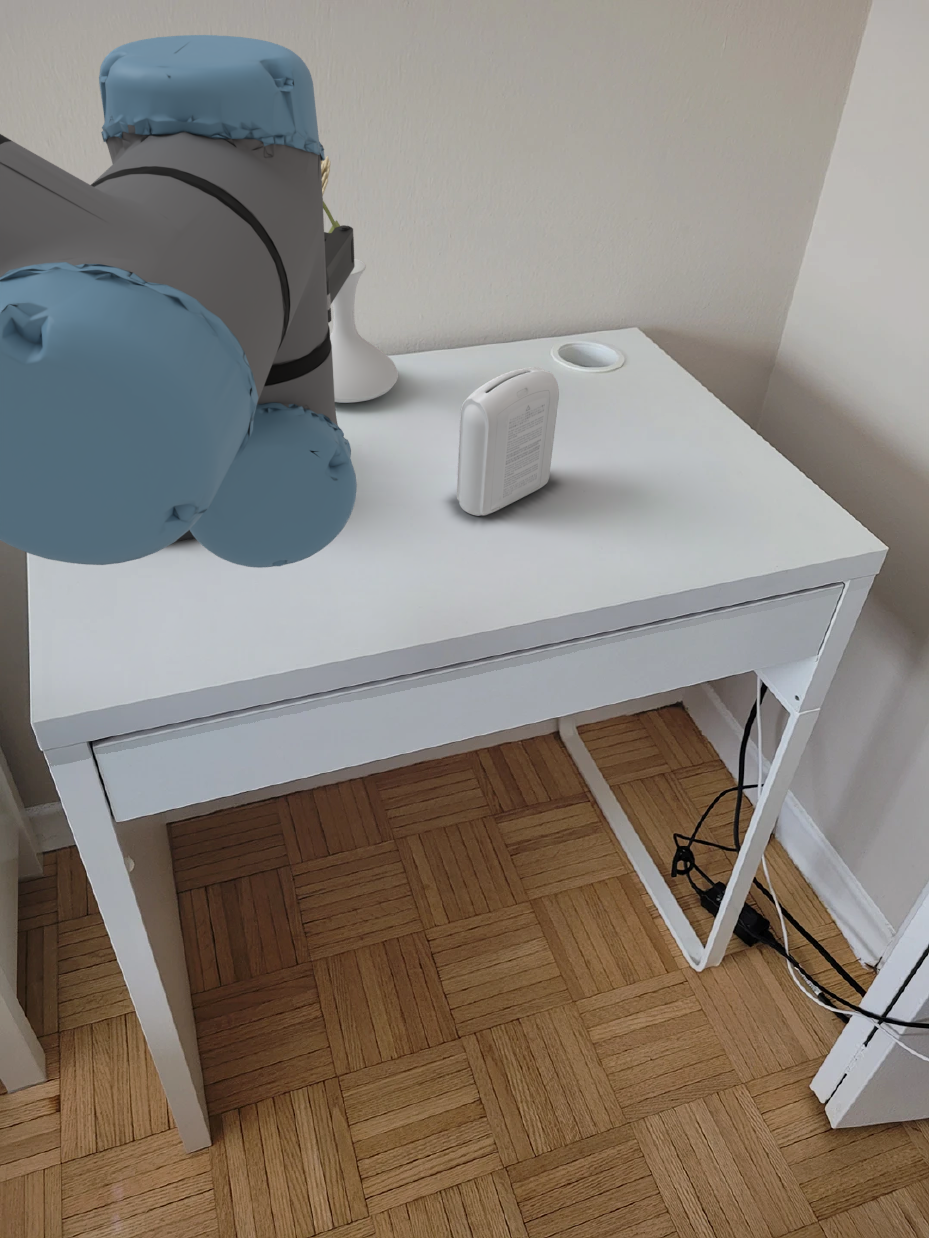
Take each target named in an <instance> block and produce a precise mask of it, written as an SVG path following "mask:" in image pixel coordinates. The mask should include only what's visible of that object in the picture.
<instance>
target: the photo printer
mask: <svg viewBox="0 0 929 1238" xmlns="http://www.w3.org/2000/svg"><path fill="white" fill-rule="evenodd" d="M559 399H560V389H559V384H558V380H557V378H556V377H555V375H554V373H553V372H551V371H547V370H545V369H544V368H543V367H535V366H534V367H533V366H532V367H523V368H517V369H513V370H511V371H508V372H505V373H502V374H500V375H498V376H496V377H494V378H492V379H490V380H489V381H487V382H485V383H484V384H482V385H481V386H479V387H478V388H476V389H475V390H474V391H473V392H471V394H470V395H468V397H466V399H465V400H464V401H463V403H462V404H461V408H460V413H459V414H460V415H459V416H460V417H459V433H458V434H459V435H458V451H457V452H458V453H457V454H458V455H457V456H458V457H457V473H456V499H457V501H458V502H459V506H460V508H461V509H462V510H463V511H464V512H465V513H468V514H470V515H473V516H477V517H479V516H487V515H490V514H492V513H494V512H495V513H496V512H497V511H499V510H501V509H503V508H504V507H507V506H509V505H510V504H513V503H514V502H516V501H518V500H521V499H522V498H524V497H526V496H528V495H530V494H533V493H534V492H536V491H538V490H540V489H541V488H543V487H545V485H546V484H548V482H549V479H550V475H551V467H552V457H553V449H554V448H553V447H554V441H555V433H556V432H555V431H556V425H557V424H556V423H557V418H558V417H557V416H558V407H559Z"/></svg>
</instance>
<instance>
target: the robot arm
mask: <svg viewBox="0 0 929 1238" xmlns="http://www.w3.org/2000/svg"><path fill="white" fill-rule="evenodd" d="M98 85H99V90H100V97H101V104H102V110H103V112H102V113H103V119H104V123H103V124H102V127H101V130H102V131H101V132H100V133H101V137H102V140H103V141H102V142H103V143H105V144H106V146H107V150H108V153H109V156H110V160H111V166H110V167H108V168H107V169H106V170H105V171H104V172H103V173H102V174H101V175H100V176H98V177H97V178H96V179H95V180H94V181H93V182H92V183H91V184H89V183H88V182H86V181H84V180H82V179H81V178H79V177H77V176H75V175H73V174H72V173H70V172H68V171H66V170H64V169H63V168H61V167H60V166H57V165H56V164H54V163H52V162H50V161H48V160H47V159H45V158H44V157H41V156H40V155H38V154H36V153H35V152H33V151H31V150H29V149H27V148H26V147H24V146H22V145H21V144H18V143H17V142H15V141H13V140H11V139H10V138H8V137H6V136H4V134H2V133H0V541H1V542H2V543H5V544H6V545H8V546H10V547H13V548H15V549H16V550H20V551H22V552H25V553H27V554H30V555H33V556H36V557H39V558H42V559H46V560H50V561H55V562H61V563H62V562H63V563H68V564H77V565H86V566H87V565H89V566H106V565H115V564H116V565H117V564H123V563H127V562H130V561H135V560H141V559H143V558H145V557H147V556H148V557H149V556H151V555H153V554H155V553H156V554H157V553H158V552H160V551H161V550H164V549H165V548H167V547H168V546H170V545H172V544H174V543H175V542H177V541H176V540H177V539H179V538H180V537H181V536H182V535H184V534H185V533H186V532H187V531H188V530H190V531H191V533H192V534H193V536H194V537H195V538H194V539H195V540H196V541H197V542H198V544H200V545H201V546H202V547H203V548H205V549H206V550H207V551H208V552H210V553H211V554H213V555H215V556H216V557H218V558H220V559H222V560H224V561H226V562H229V563H232V564H235V565H237V566H238V565H239V566H243V567H248V568H258V569H259V568H262V569H263V568H272V567H282V566H285V565H290V564H294V563H295V564H296V563H297V562H301V561H304V560H306V559H308V558H310V557H312V556H314V555H315V554H317V553H319V552H321V551H322V550H323V549H324V548H326V547H327V546H328V545H330V544H331V543H332V542H333V541H334V540H335V539H336V538H337V537H338V535H339V534H340V533H341V532H342V531H343V529H344V528H345V526H346V525H347V523H348V521H349V519H350V517H351V515H352V512H353V510H354V507H355V504H356V499H357V491H358V489H357V487H358V486H357V485H358V484H357V483H358V482H357V476H356V472H355V468H354V464H353V462H352V458H351V457H352V456H351V455H352V449H351V444H350V441H349V439H347V438H346V437H345V433H344V431H343V430H342V428H341V427H340V426H339V423H338V419H337V412H336V402H335V397H334V379H333V360H332V345H331V340H330V335H331V329H330V325H329V323H331V322H332V302H333V300H334V299H335V297H336V296H337V294H338V292H339V291H340V289H341V288H342V286H343V284H344V283H345V281H346V280H347V278H348V277H349V275H350V273H351V272H352V270H353V269H354V267H355V264H354V258H355V239H354V228H353V227H352V226H350V225H343V224H342V225H340V226H339V227H336V228H335V229H334V230H333V231H332V233H328V232H326V231H325V221H324V220H325V219H324V209H323V201H324V197H323V196H324V194H323V195H322V172H321V161H322V162H323V161H324V160H325V159H326V157H325V148H324V146H323V145H322V142H320V138H319V136H320V135H319V127H318V117H317V108H316V98H315V88H314V81H313V78H312V74H311V72H310V69H309V67H308V66H307V64H306V62H305V61H304V60H303V59H302V58H301V57H300V56H299V55H298V54H297V53H296V52H295V51H293V50H292V49H289V48H287V47H285V46H284V45H280V44H278V43H274V42H271V41H267V40H263V39H257V38H251V37H244V36H234V35H217V34H216V35H215V34H214V35H213V34H187V35H184V34H183V35H169V36H157V37H151V38H145V39H139V40H135V41H131V42H127V43H125V44H122V45H120V46H117V47H116V48H114V49H113V50H111V51H110V52H108V54H107V55H106V56H105V57H104V59H103V61H102V62H101V64H100V68H99V76H98Z"/></svg>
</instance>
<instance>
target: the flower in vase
mask: <svg viewBox="0 0 929 1238" xmlns="http://www.w3.org/2000/svg"><path fill="white" fill-rule="evenodd" d="M321 172H322V195H323V196H324V194H325V191H326V189H327V186H328V184H329V177H330V172H331V160H330V158H329V155H327V156H326V157H325V160H324V161H321ZM323 211H324V212H325V214H326V216H327V218H328V220H329V221H330V223H331V227H330V229H329V230H328V232H327V233H332V231H333V230H334V229H335V228H336V227H339V226H341V225H340V223H339V222H338V220H335V219H334V217H333V215H332V213H331V212H330V210H329V208H328V206H327V204H326V203H325V200H323ZM354 264H355V267H354V269H353V270H352V272H351V273H350V275H349V277H348V278H347V280H346V281H345V283H344V284H343V286H342V288H341V289H340V291H339V292H338V294H337V296H336V297H335V299H334V300H333V302H332V304H331V306H332V314H333V317H332V318H333V325H332V330H331V332H330V340H331V345H332V360H333V379H334V397H335V403H345V404H346V403H359V402H365V401H370V400H373V399H377V398H379V397H381V396H383V395H385V394H387V393H388V392H390V390H391V389H392V388H394V385H395V384H396V383H397V381H398V379H399V372H398V369H397V367H396V363H394V361H393V360H392V359H391V358H390V357H389V356H388V355H387V354H386V353H385V352H384V351H382V350H381V349H380V348H378V346H376V345H374V344H372V342H371V343H370V342H369V341H367V339H365V338H363V336H361V334H360V333H359V331H358V330H357V326H356V321H355V320H356V319H355V299H356V292H357V287H358V284H359V280H360V279H361V276H362V275H363V273H364V272H365V270H366V268H367V264H366V263H365V262H364V261H362V260H361V259H359V258H355V257H354Z"/></svg>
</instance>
